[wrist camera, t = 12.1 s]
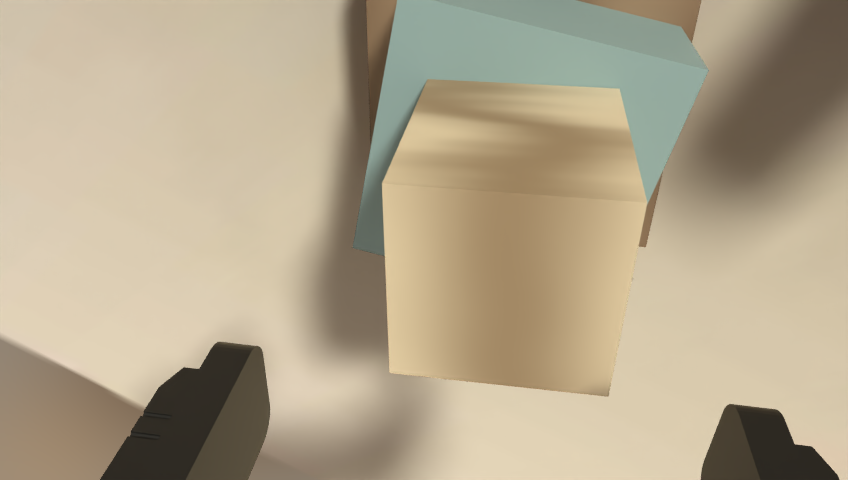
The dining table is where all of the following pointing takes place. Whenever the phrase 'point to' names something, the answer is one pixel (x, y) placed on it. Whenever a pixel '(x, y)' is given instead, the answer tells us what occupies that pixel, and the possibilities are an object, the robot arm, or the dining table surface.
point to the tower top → (532, 73)
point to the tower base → (663, 3)
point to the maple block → (512, 235)
